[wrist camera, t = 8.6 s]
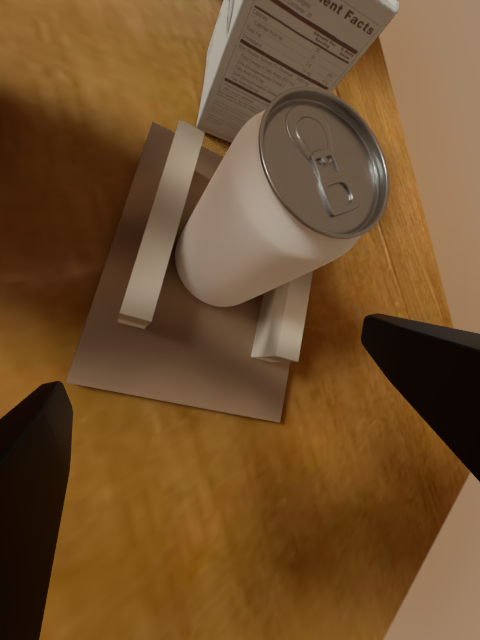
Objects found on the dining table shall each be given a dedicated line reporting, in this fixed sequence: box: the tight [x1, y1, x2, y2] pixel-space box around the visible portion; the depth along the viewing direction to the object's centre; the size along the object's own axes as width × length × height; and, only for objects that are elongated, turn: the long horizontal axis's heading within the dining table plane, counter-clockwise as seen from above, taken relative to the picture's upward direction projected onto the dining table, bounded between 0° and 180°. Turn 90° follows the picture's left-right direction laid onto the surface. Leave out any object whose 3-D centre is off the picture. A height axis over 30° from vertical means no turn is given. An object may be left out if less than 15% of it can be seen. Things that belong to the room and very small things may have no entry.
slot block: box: [66, 119, 313, 423], centre depth 21 cm, size 18×14×5 cm
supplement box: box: [196, 0, 399, 143], centre depth 20 cm, size 7×7×13 cm
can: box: [175, 87, 389, 307], centre depth 16 cm, size 6×6×12 cm
